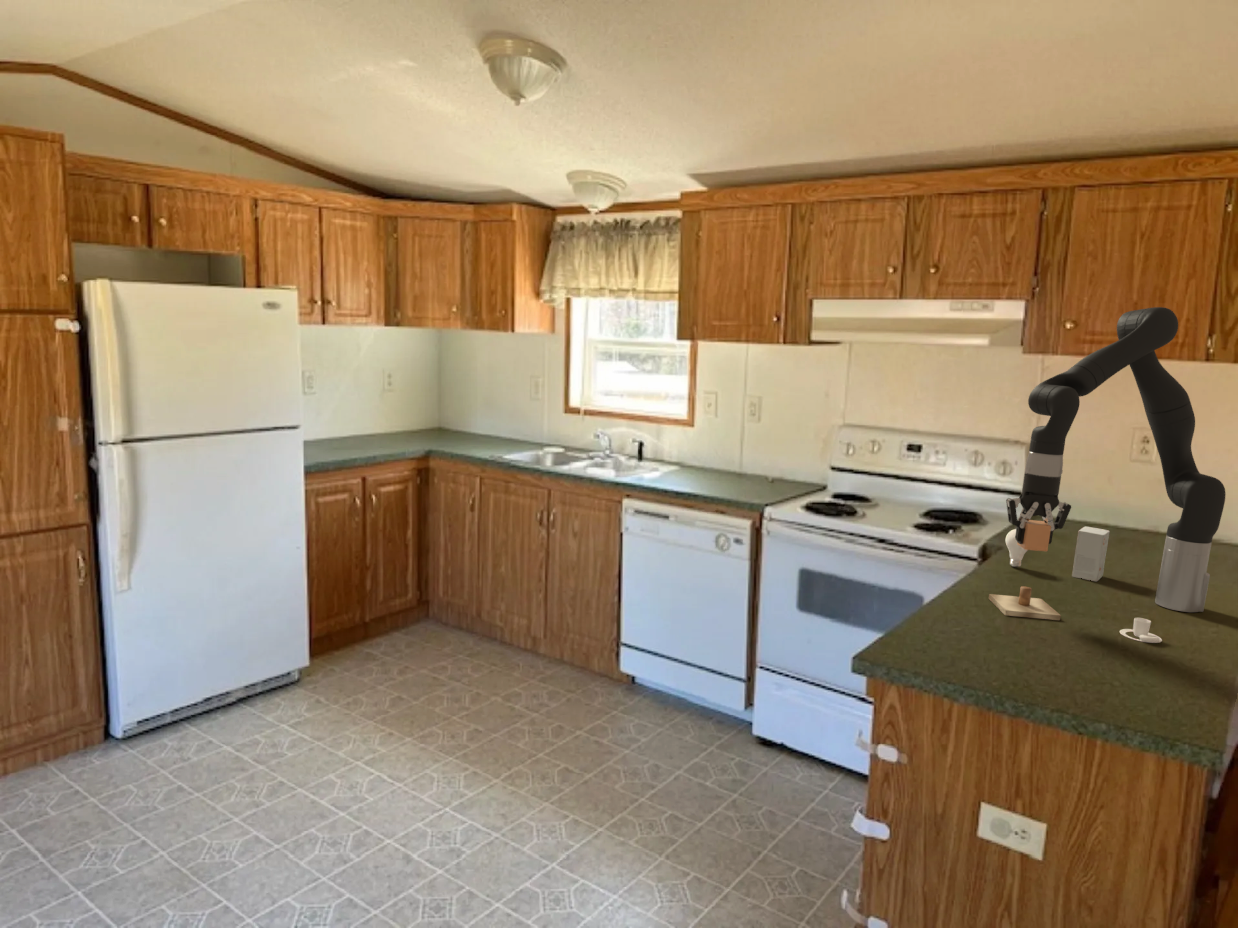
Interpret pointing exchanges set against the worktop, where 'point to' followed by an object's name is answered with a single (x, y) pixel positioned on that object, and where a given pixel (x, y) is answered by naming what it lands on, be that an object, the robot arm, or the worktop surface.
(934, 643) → the worktop surface
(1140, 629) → the white ring and cup
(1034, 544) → the salmon cube
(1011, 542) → the light bulb
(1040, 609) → the post base
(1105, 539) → the small box
